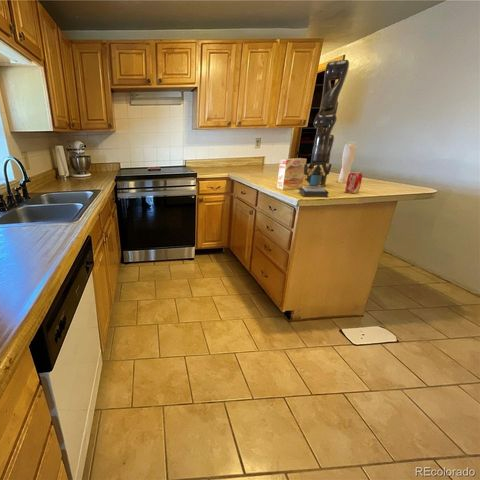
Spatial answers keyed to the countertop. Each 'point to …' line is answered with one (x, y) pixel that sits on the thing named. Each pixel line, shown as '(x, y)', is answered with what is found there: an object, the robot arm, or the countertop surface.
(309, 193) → the scale
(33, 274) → the countertop surface
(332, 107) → the robot arm
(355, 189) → the soda can
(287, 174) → the coffeecake box
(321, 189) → the scale pan
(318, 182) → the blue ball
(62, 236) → the countertop surface
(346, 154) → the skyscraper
